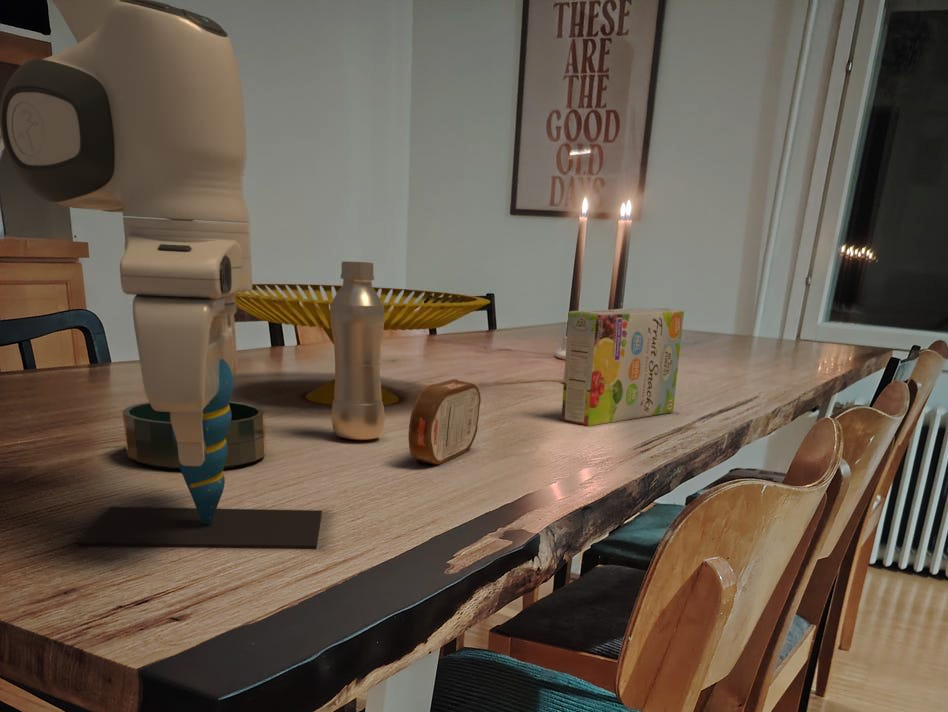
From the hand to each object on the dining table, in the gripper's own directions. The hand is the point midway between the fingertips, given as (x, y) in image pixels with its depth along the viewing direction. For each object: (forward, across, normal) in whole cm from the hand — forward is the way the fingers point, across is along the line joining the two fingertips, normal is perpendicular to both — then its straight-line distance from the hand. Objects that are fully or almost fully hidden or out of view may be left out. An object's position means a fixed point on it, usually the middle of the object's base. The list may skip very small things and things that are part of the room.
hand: (203, 450), depth 74 cm
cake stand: (+7, -68, +11) cm, 69 cm away
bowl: (+7, -26, -5) cm, 27 cm away
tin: (+7, -29, +22) cm, 37 cm away
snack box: (+7, -59, +50) cm, 78 cm away
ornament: (+6, 0, 0) cm, 6 cm away
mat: (+7, 0, 0) cm, 7 cm away
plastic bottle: (+7, -38, +12) cm, 40 cm away
